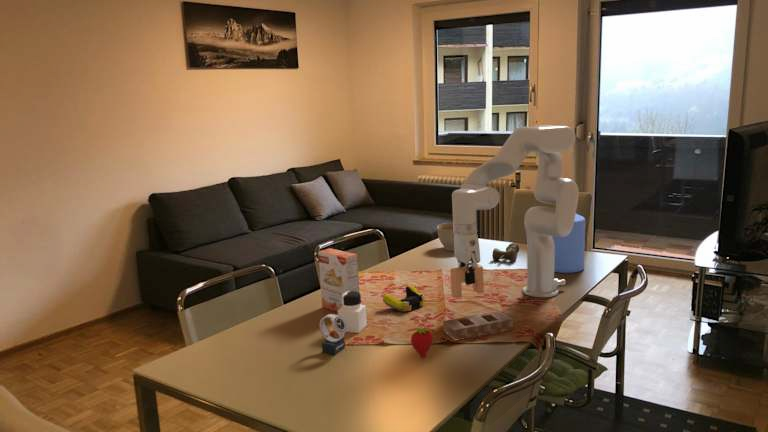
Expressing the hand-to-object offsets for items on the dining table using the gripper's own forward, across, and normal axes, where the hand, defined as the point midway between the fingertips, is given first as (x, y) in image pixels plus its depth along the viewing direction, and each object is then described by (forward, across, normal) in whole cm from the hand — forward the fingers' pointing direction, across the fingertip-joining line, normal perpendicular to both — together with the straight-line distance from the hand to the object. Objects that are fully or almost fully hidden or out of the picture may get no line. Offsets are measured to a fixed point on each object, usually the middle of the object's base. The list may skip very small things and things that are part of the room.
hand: (467, 281), depth 202 cm
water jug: (+14, +31, -59) cm, 68 cm away
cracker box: (+12, +25, +37) cm, 46 cm away
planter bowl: (+14, +79, -33) cm, 86 cm away
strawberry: (+11, -22, +26) cm, 36 cm away
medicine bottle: (+11, +7, +38) cm, 40 cm away
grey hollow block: (+12, -12, +3) cm, 17 cm away
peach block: (+4, 0, 0) cm, 4 cm away
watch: (+11, -7, +48) cm, 50 cm away
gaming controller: (+12, +18, +15) cm, 27 cm away
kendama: (+14, +53, -46) cm, 71 cm away
